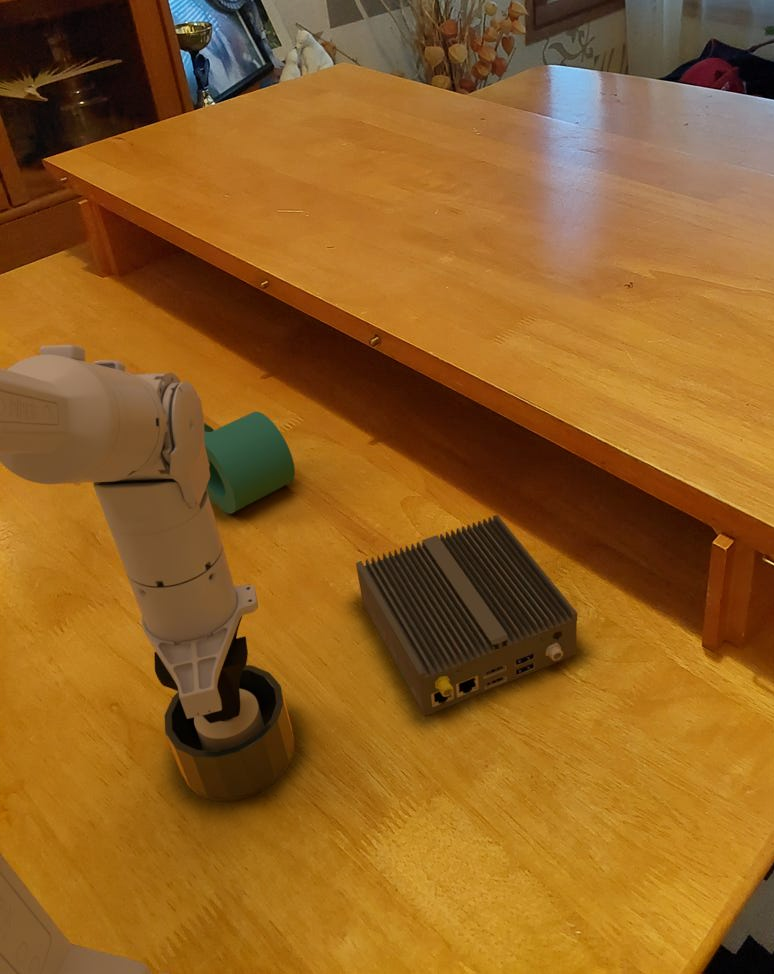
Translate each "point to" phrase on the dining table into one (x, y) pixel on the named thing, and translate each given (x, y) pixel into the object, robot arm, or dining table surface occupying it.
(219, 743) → the brush
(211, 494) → the tape dispenser
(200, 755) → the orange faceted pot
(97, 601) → the dining table surface
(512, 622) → the electronic device
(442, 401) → the dining table surface
